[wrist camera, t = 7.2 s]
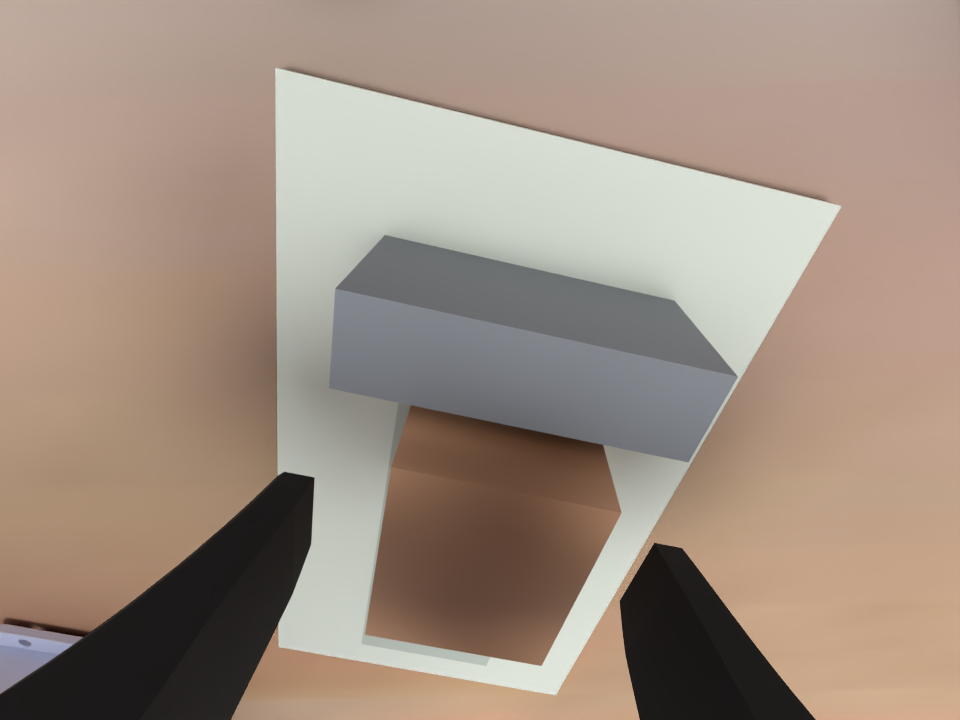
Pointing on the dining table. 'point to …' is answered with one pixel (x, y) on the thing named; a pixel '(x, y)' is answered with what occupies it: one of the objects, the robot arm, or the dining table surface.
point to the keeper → (487, 535)
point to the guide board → (507, 218)
